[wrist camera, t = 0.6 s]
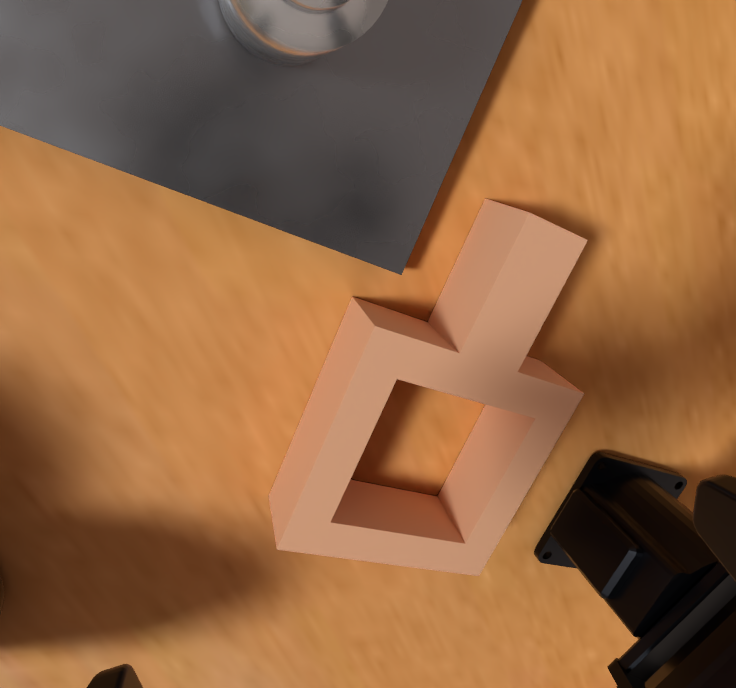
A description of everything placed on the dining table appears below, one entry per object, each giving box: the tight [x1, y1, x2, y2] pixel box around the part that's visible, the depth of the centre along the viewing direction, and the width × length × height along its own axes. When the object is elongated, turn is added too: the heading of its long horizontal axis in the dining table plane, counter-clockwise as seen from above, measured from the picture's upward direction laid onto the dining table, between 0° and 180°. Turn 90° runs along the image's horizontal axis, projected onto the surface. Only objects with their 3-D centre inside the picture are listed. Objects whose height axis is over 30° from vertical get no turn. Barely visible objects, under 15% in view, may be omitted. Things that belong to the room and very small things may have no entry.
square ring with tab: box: [269, 198, 588, 576], centre depth 20 cm, size 9×14×3 cm, turn 156°
